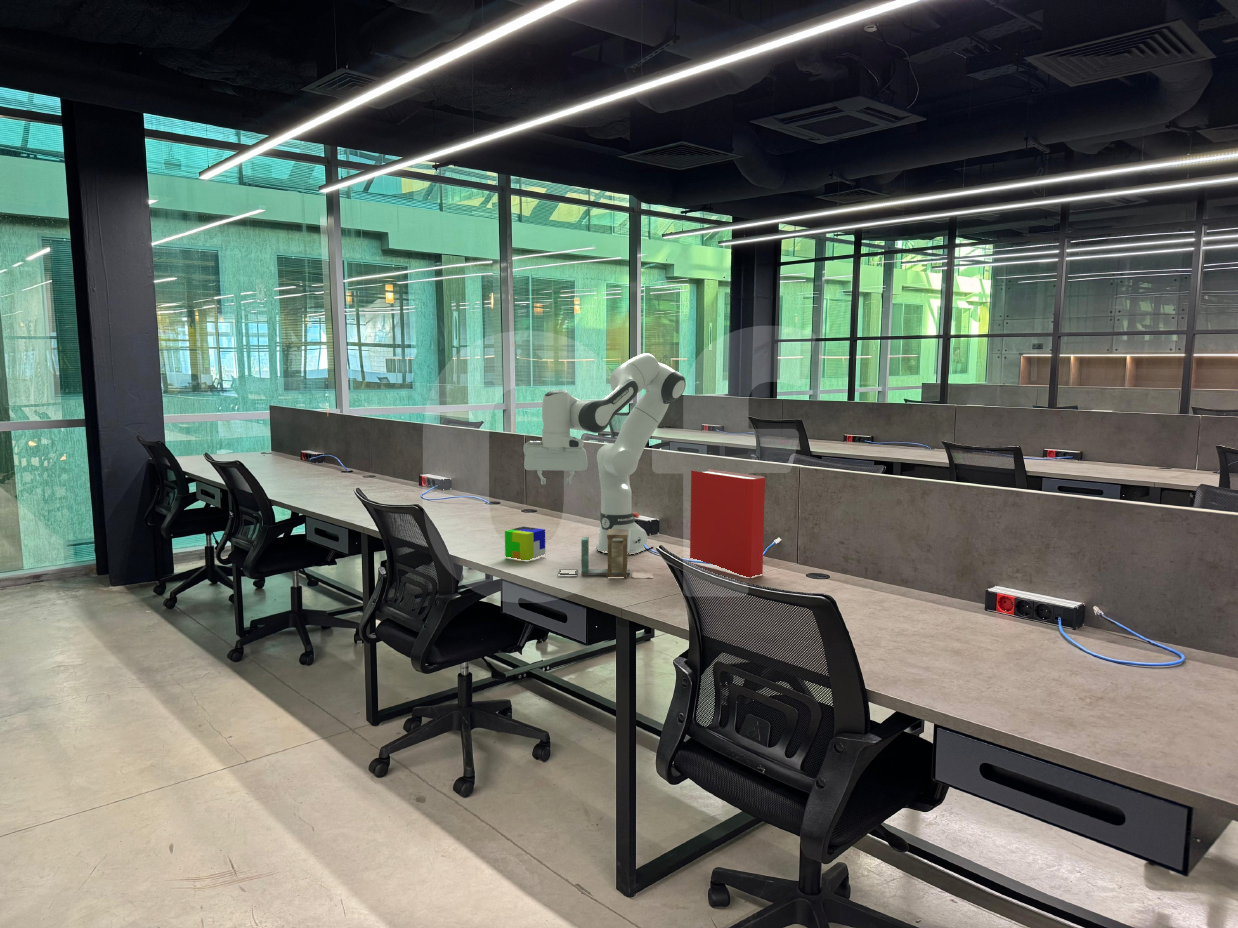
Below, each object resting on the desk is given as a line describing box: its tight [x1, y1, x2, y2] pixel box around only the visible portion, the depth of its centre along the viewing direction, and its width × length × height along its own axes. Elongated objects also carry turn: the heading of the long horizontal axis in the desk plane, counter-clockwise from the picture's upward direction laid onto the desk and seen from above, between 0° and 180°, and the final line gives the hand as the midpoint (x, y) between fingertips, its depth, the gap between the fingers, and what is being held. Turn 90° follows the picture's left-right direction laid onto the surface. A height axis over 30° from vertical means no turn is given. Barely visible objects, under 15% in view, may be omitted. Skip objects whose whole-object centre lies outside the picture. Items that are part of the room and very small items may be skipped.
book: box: [689, 468, 766, 577], centre depth 263 cm, size 27×8×32 cm, turn 37°
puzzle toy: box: [504, 526, 546, 560], centre depth 278 cm, size 10×10×10 cm
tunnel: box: [607, 529, 628, 579], centre depth 255 cm, size 6×9×14 cm
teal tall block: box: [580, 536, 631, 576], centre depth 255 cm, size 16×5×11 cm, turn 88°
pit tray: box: [557, 568, 579, 576], centre depth 256 cm, size 6×6×1 cm
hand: (556, 484), depth 254 cm, fingers open, 7 cm apart
